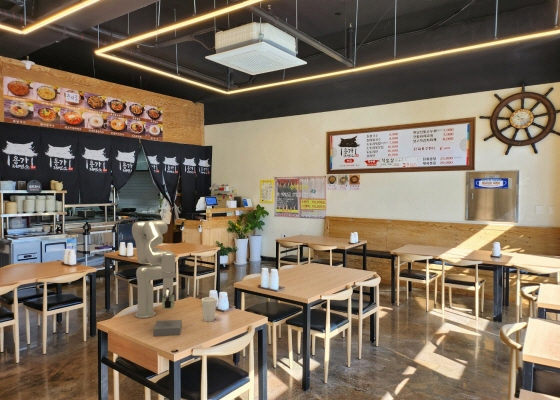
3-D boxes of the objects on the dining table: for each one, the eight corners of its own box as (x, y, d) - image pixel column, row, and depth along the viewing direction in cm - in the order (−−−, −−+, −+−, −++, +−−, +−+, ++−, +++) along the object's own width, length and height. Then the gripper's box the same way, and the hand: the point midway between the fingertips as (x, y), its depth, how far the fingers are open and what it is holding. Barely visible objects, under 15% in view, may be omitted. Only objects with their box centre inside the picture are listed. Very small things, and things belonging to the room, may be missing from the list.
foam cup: (219, 319, 247) (220, 298, 247) (209, 323, 240) (209, 302, 239) (208, 316, 253) (209, 296, 252) (198, 320, 245) (198, 299, 245)
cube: (163, 306, 227) (163, 295, 227) (174, 305, 228) (174, 295, 228) (162, 309, 221) (162, 298, 221) (173, 308, 222) (173, 298, 222)
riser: (156, 327, 231) (156, 320, 231) (181, 326, 233) (181, 319, 233) (153, 336, 217) (153, 329, 217) (179, 334, 220) (179, 327, 220)
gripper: (163, 271, 232) (163, 302, 233) (159, 277, 215) (159, 310, 216) (176, 271, 234) (176, 301, 234) (174, 277, 217) (173, 310, 217)
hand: (168, 305), depth 225 cm, fingers closed on cube, 6 cm apart
